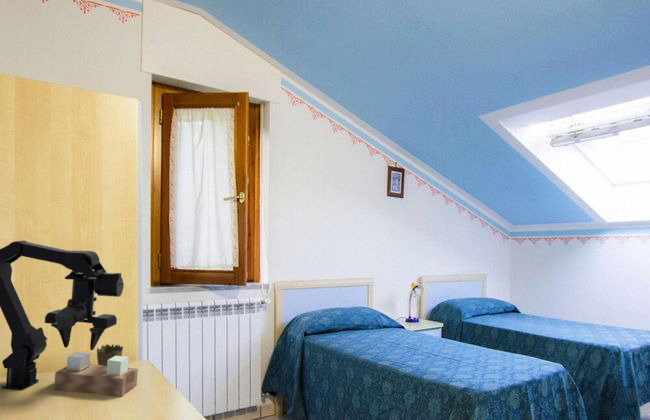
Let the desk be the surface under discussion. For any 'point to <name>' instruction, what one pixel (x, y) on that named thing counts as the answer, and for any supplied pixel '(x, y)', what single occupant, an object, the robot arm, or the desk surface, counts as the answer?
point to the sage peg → (117, 365)
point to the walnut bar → (95, 381)
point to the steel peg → (78, 362)
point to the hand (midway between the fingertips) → (79, 348)
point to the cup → (108, 353)
